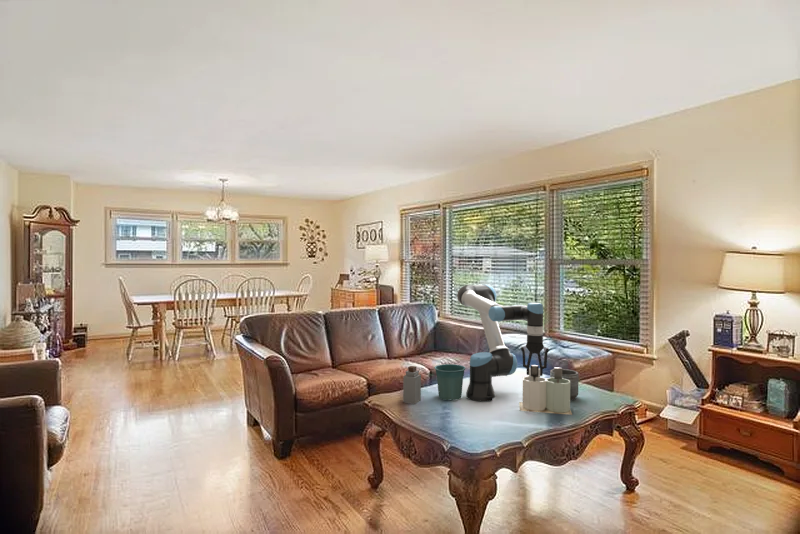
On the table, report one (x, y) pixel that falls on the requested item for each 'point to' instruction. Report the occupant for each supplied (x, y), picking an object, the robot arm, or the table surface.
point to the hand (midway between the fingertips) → (534, 381)
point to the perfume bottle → (412, 386)
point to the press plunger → (534, 371)
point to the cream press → (534, 394)
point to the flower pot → (450, 381)
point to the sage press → (558, 393)
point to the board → (542, 410)
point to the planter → (573, 379)
